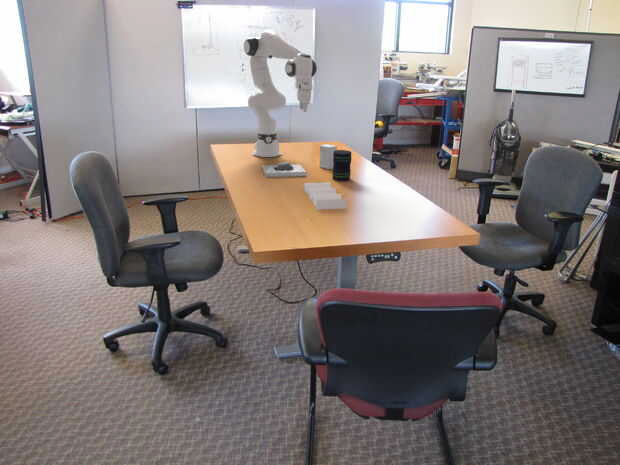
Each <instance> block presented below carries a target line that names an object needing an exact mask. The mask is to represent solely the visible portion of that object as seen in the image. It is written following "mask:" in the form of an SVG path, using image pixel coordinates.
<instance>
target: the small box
mask: <svg viewBox="0 0 620 465" xmlns="http://www.w3.org/2000/svg"><path fill="white" fill-rule="evenodd" d="M336 150H338V146H336V145H332V144H328V143H327V144H320V145H319V168H323V169H326V170H333V164H334V162H333V154H334V151H336Z"/></svg>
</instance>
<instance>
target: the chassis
mask: <svg viewBox="0 0 620 465" xmlns="http://www.w3.org/2000/svg"><path fill="white" fill-rule="evenodd" d="M275 165H276V164H267V165H265V164H264V165H262V168H261V169H262V172H263V174H264V176H265V177H266V178H284V177H285V178H288V177H290V178H291V177H306V176H307V171H306V170H305V169H304V167H303V166H302V165H301V164H291V165H292V166H293V167H290V170H277V168H276V167H275Z"/></svg>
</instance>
